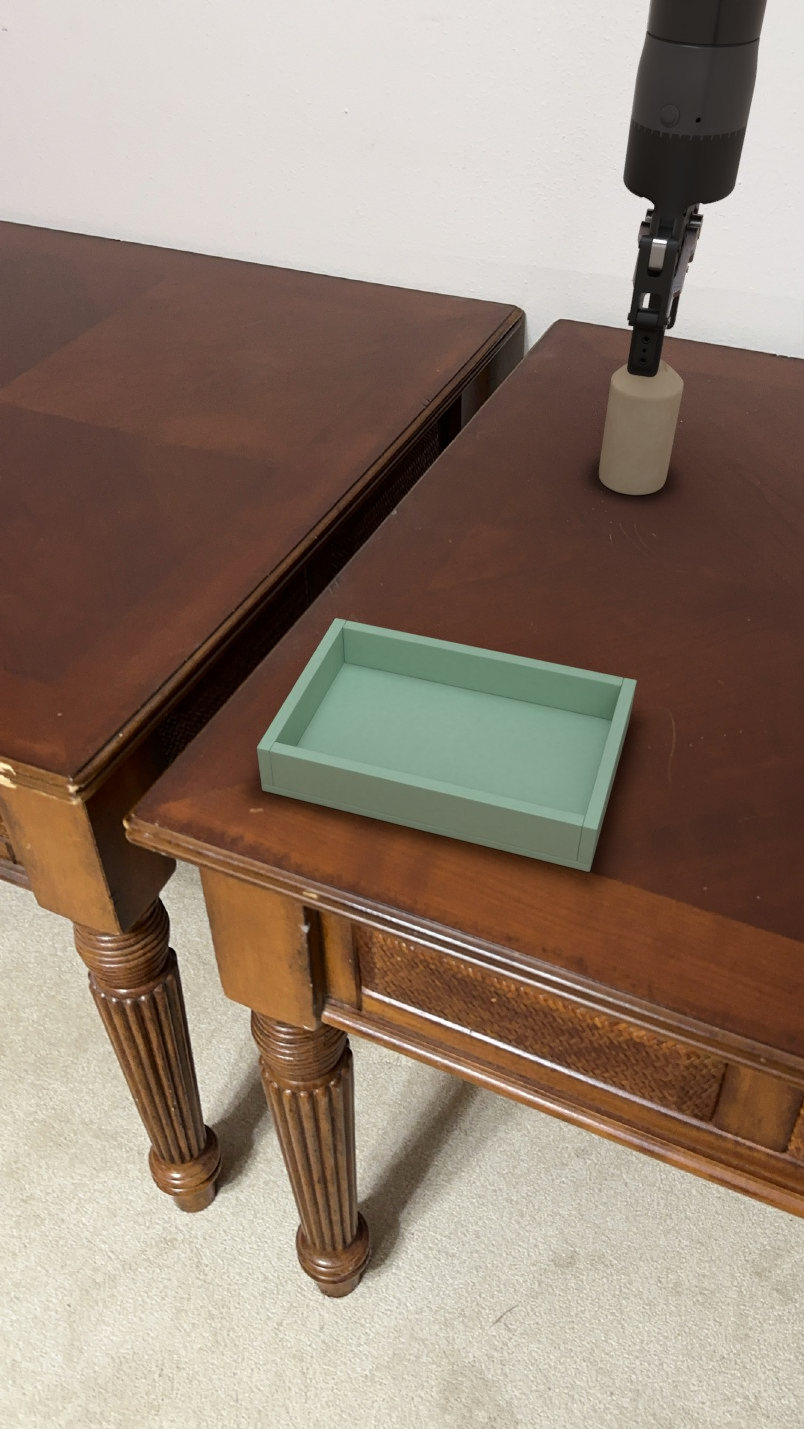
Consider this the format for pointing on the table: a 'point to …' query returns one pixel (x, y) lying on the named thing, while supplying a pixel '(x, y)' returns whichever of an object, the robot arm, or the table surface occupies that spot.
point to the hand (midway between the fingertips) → (651, 349)
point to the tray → (452, 741)
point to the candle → (640, 430)
